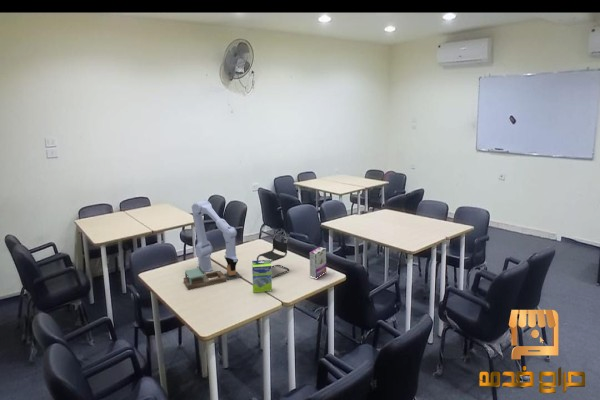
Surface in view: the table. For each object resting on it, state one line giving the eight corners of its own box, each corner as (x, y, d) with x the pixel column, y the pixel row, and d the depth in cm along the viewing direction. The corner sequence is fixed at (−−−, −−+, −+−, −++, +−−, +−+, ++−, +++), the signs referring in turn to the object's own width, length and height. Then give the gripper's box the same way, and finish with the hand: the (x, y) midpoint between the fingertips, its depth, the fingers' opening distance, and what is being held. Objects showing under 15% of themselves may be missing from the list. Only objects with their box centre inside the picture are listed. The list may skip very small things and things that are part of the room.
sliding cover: (185, 277, 229) (184, 267, 227) (200, 274, 233) (200, 264, 231) (189, 284, 219) (189, 274, 217) (205, 281, 223) (205, 271, 221)
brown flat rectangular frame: (183, 281, 229) (183, 277, 228) (220, 274, 239) (220, 270, 238) (188, 289, 219) (188, 285, 218) (226, 281, 229) (226, 277, 228)
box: (253, 293, 214) (252, 263, 210) (252, 289, 218) (251, 260, 214) (272, 291, 216) (271, 262, 212) (271, 288, 220) (270, 259, 216)
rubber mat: (222, 274, 238) (222, 274, 238) (236, 271, 242) (236, 271, 242) (227, 280, 230) (227, 279, 230) (241, 277, 234) (241, 276, 234)
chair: (291, 271, 243) (291, 237, 238) (270, 279, 231) (269, 244, 226) (278, 265, 252) (277, 232, 247) (256, 273, 240) (255, 239, 235)
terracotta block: (227, 273, 236) (226, 265, 235) (233, 272, 238) (233, 263, 237) (229, 275, 233) (229, 267, 232) (235, 274, 235) (235, 265, 234)
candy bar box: (319, 271, 241) (319, 246, 238) (326, 273, 238) (326, 248, 235) (309, 277, 233) (309, 251, 229) (316, 280, 230) (316, 253, 226)
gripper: (220, 245, 236) (221, 266, 239) (228, 252, 224) (229, 274, 227) (231, 243, 240) (232, 264, 243) (240, 250, 228) (241, 272, 231)
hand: (231, 269), depth 235 cm, fingers closed on terracotta block, 4 cm apart
